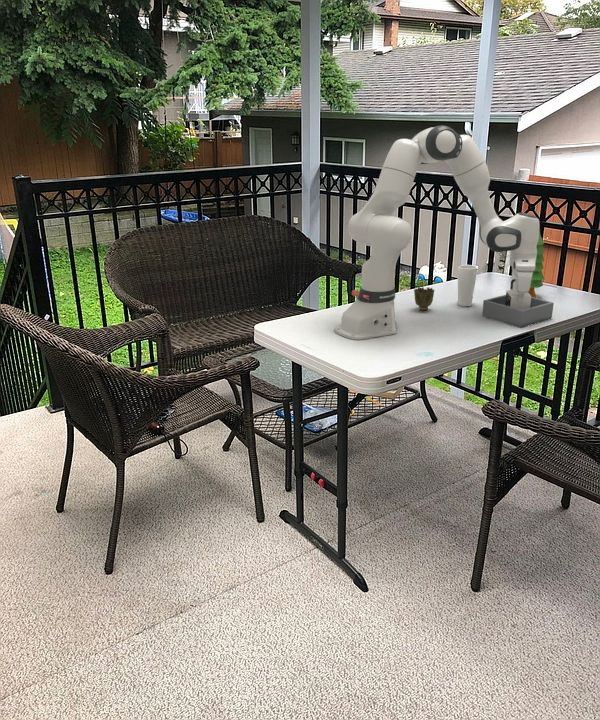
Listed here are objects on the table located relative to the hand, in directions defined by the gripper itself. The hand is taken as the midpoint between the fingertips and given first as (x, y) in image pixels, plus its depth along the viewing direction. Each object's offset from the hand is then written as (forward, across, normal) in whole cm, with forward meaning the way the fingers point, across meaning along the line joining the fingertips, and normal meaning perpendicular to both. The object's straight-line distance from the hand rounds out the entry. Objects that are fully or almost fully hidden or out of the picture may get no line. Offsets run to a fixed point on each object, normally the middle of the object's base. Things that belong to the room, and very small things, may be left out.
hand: (518, 298), depth 226 cm
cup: (+7, -5, -33) cm, 34 cm away
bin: (+7, 0, 0) cm, 7 cm away
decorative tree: (+7, -28, +8) cm, 30 cm away
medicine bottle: (+5, 0, 0) cm, 5 cm away
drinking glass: (+7, -14, -18) cm, 23 cm away
